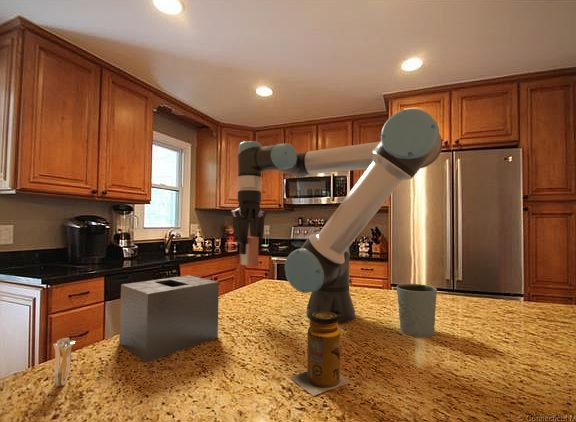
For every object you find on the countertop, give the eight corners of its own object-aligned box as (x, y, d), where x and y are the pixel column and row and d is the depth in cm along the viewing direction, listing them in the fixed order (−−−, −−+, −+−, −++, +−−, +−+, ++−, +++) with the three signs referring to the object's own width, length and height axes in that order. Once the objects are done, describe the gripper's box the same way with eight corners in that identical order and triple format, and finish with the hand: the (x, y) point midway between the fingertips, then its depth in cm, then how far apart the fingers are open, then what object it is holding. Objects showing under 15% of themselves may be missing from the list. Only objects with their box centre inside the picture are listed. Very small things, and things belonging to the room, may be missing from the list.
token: (258, 265, 95) (258, 237, 96) (252, 266, 94) (252, 237, 94) (245, 264, 99) (245, 236, 100) (239, 264, 97) (240, 236, 98)
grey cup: (442, 331, 83) (441, 287, 83) (429, 341, 75) (429, 293, 76) (405, 323, 90) (405, 282, 90) (390, 331, 82) (390, 287, 83)
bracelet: (58, 377, 56) (59, 333, 57) (78, 374, 58) (80, 331, 58) (44, 397, 50) (46, 347, 50) (67, 393, 51) (69, 345, 52)
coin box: (217, 337, 76) (218, 281, 77) (145, 362, 63) (147, 293, 63) (187, 325, 86) (188, 275, 86) (119, 344, 72) (121, 284, 72)
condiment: (349, 383, 56) (350, 316, 56) (313, 397, 51) (313, 324, 51) (324, 367, 62) (324, 307, 62) (289, 378, 57) (290, 313, 57)
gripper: (258, 193, 106) (258, 261, 105) (222, 189, 94) (221, 265, 93) (274, 191, 101) (274, 262, 100) (238, 187, 89) (237, 267, 88)
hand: (248, 264), depth 96 cm, fingers closed on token, 2 cm apart
